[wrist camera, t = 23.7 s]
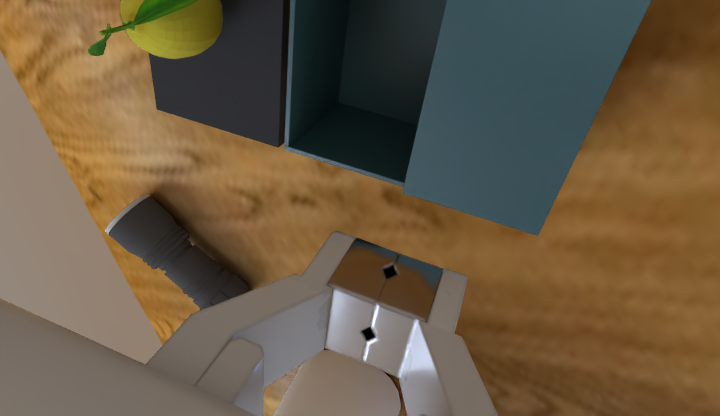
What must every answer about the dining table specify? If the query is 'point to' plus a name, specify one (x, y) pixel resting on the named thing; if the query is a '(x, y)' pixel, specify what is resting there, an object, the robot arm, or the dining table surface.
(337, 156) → the box
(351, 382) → the white lidded jar
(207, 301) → the flashlight
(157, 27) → the lemon
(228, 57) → the mat
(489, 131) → the flap
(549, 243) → the dining table surface
